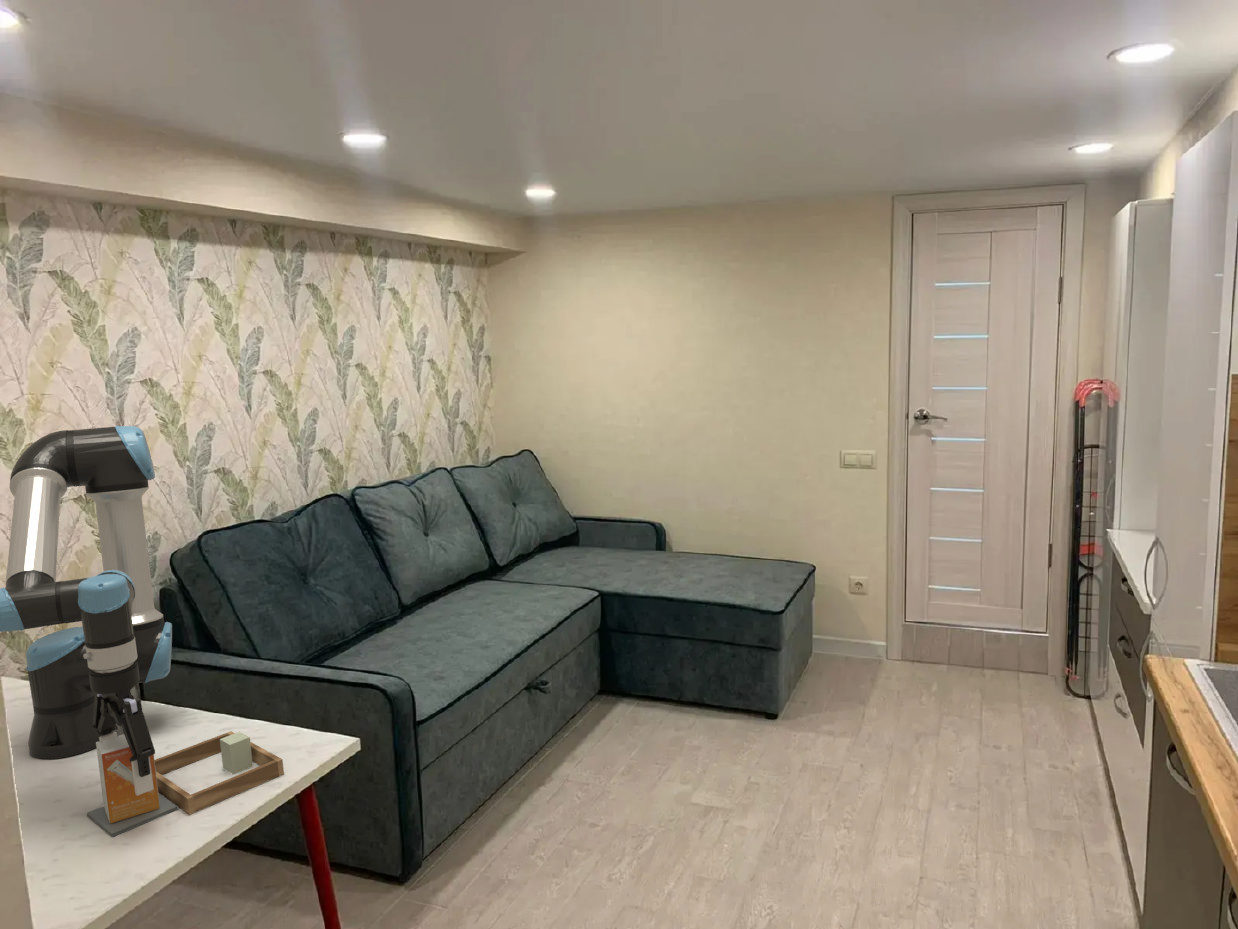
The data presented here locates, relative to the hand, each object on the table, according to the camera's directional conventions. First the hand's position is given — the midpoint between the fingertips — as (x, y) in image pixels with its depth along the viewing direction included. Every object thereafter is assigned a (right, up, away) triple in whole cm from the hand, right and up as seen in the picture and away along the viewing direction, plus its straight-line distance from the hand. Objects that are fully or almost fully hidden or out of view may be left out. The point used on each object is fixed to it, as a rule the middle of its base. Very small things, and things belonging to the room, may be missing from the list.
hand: (128, 780), depth 163 cm
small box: (0, -6, +1) cm, 6 cm away
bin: (+9, -4, +13) cm, 16 cm away
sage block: (+12, -3, +17) cm, 21 cm away
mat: (0, -6, +1) cm, 6 cm away
